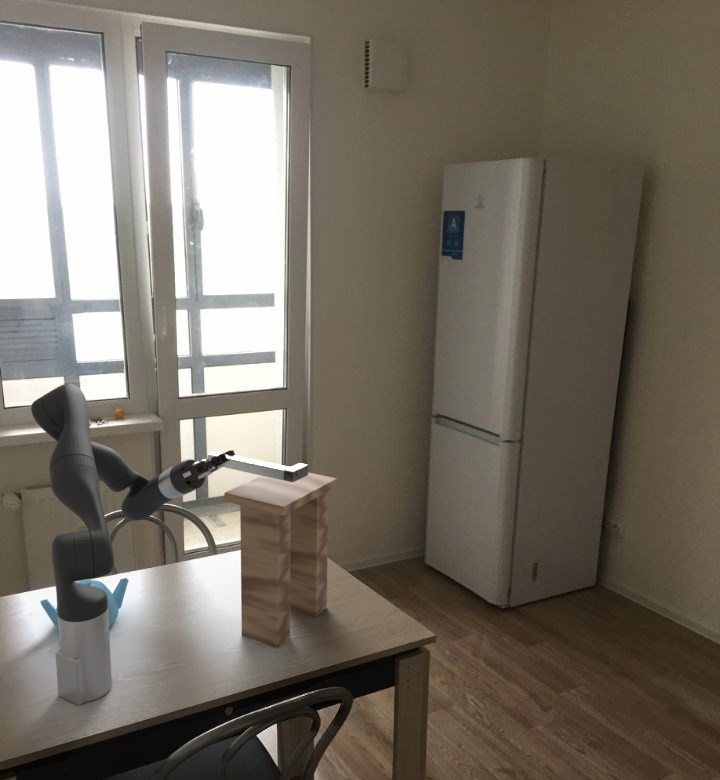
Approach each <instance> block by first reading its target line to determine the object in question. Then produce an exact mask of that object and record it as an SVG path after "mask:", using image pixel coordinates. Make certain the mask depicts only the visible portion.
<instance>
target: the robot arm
mask: <svg viewBox="0 0 720 780" xmlns="http://www.w3.org/2000/svg"><path fill="white" fill-rule="evenodd" d="M30 407H31V408H30V411H31V414H32V418H33V419H34V420H35V422H36V424H37V425H39V427H40V428H41V429H42V431H44V432H45V433H46V434H48V435H49V436H50V437H51V438H52V439H54V440H55V441H56V442H57V443H56V446H55V447H54V449H53V451H52V454H51V457H50V460H49V467H48V468H49V470H48V471H49V479H50V484H51V490H52V493H53V494H54V496H55V497H56V498H57V500H59V501H60V502H61V503H62V505H64V506H65V507H67V508H68V509H69V511H71V512H72V513H74V514H75V515H76V516H78V518H80V520H81V521H82V522H83V523H84V525H85V527H86V530H81V531H74V532H68V533H62V534H61V533H60V534H58V535H57V536H55V537H54V538H53V541H52V544H51V558H52V560H51V561H52V567H53V575H54V583H55V593H56V609H57V614H58V627H59V628H58V627H57V628H58V640H59V650H57V651H56V652H55V662H56V663H55V664H56V678H57V694H58V696H59V697H60V698H63V699H65V700H67V701H69V702H71V703H73V704H76V705H78V706H81V705H82V704H84V703H87V702H91V701H92V702H93V701H95V700H97V699H99V698H101V697H103V696H105V695H106V694H107V693H108V692H109V691H110V690H111V689H112V686H113V684H112V683H113V679H112V678H113V677H112V664H111V663H112V660H111V644H110V643H111V640H110V627H109V618H108V599H107V595H106V593H105V592H104V591H103V590H102V589H100V588H97V587H93V586H87V585H82V584H79V583H76V582H74V581H80V580H85V579H90V580H92V579H96V578H100V577H104V576H107V575H109V574H110V573H111V572H112V570H113V568H114V564H115V556H114V547H113V543H112V539H111V536H110V531H109V527H108V523H107V520H106V516H105V512H104V508H103V505H102V499H101V491H100V484H99V479H100V480H101V481H102V482H103V483H104V484H105V485H106V487H108V489H110V490H111V491H112V492H115V493H119V492H122V491H124V490H126V489H127V488H129V491H128V492H127V493H126V496H125V497H124V499H123V501H122V502H121V507H120V508H121V509H120V510H121V512H122V514H123V516H124V517H125V518H127V519H128V520H131V521H142V520H145V519H147V518H149V517H150V516H152V515H153V514H154V513H155V512H157V511H158V510H159V509H160V508H162V506H163V505H164V504H166V503H168V502H171V501H173V500H175V499H177V498H178V499H179V498H181V497H183V496H185V495H187V494H189V493H192V492H194V491H196V490H198V489H200V488H202V486H204V484H205V482H206V477H208V476H210V475H212V474H213V473H214V472H217V471H219V470H220V469H222V467H220V466H219V465H221V464H223V463H225V462H227V461H228V459H227V457H226V454H229V455H234V456H237V455H236V454H235V451H234V450H233V449H229V450H227V451H226V452H220V453H221V454H219V455H217V456H215V457H213V458H209V459H207V458H204V459H201V460H200V461H198V460H196V459H193V458H188V459H185V460H182V461H181V462H179V463H176V464H174V465H173V466H171V467H169V468H168V469H166V470H164V471H163V472H162V473H160V474H158V475H156V476H153V477H152V478H151V479H148V478H147V477H145V476H143V475H142V474H141V473H139V472H137V471H136V470H134V469H133V468H132V467H131V466H130V465H129V463H128V462H127V461H126V460H125V459H124V458H123V457H122V456H121V454H119V453H118V452H117V451H116V450H114V449H113V448H111V447H108V446H107V445H103V444H102V443H98V442H95V441H92V440H91V428H90V427H91V426H90V425H91V424H90V411H89V405H88V401H87V399H86V397H85V394H84V393H83V390H81V389H80V388H79V386H77V385H75V384H73V383H64V384H61V385H59V386H57V387H55V388H54V389H52V390H50V391H48V392H47V393H45V394H44V395H42V396H41V397H38V398H37V399H35V400H34V401H33V402H32V404H31V406H30Z"/></svg>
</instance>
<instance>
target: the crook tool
mask: <svg viewBox="0 0 720 780" xmlns="http://www.w3.org/2000/svg"><path fill="white" fill-rule="evenodd" d="M221 453H222V452H219V451H211V452H209V453H207V455H206V456H207V458H206V459H209V458H213V457H215V456H217V455H219V454H221ZM226 457H227V459H228V461H227V462H225V463H223V464H221V465H219V466H220V467H221V468H225V469H228V470H229V469H230V470H235V471H239V472H244V473H247V474H248V473H249V474H253V475H258V476H260V477H261V476H266V477H270V478H275V479H279V480H284V481H289V482H295V481H297V480H299V479H301V478H303V477H305V476H307V475H308V473H309V464H305V463H301V462H299V463H296V464H294V465H291V466H286V465H282V464H277V463H273V462H269V461H268V462H266V461H263V460H259V459H258V460H257V459H252V458H247V457H243V456H239V455H236V456H234V455H229V454H226Z"/></svg>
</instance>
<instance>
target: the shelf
mask: <svg viewBox="0 0 720 780" xmlns="http://www.w3.org/2000/svg"><path fill="white" fill-rule="evenodd" d="M337 486H338V478H337V477H332V476H327V475H323V474H318V473H314V472H308V475H307V476H305V477H303V478H301V479H299V480H297V481H295V482H289V481H284V480H279V479H275V478H270V477H266V476H261V475H260V476H259V477H256V478H255V479H252V480H249V481H246V482H245V483H243V484H240V485H239V486H236V487H234V488H232V489H230V490H227V491H226V492H224V502H226V503H231V504H233V505H234V504H235V505H239V509H240V510H239V511H240V513H239V515H240V524H239V525H240V581H241V582H240V592H241V593H240V595H241V596H240V599H241V600H240V601H241V605H240V606H241V607H240V609H241V615H240V616H241V636H242V637H245V638H247V639H250V640H252V641H255V640H256V641H255V642H258V641H259V642H258V643H261V642H262V644H264V643H265V645H267V644H268V645H267V646H269V645H271V647H272V646H274V647H273V648H275V647H276V648H275V649H278V648H279V647H281V646H282V645H283V644H284V643H286V642H287V641H288V640H290V638H291V610H294V611H297V612H299V613H303V614H307V615H309V614H310V616H312V615H313V617H315V616H316V617H318V616H319V615H320V614H321V613H322V612H323V611H325V610H326V609H327V607H328V606H327V605H328V552H329V550H328V549H329V547H328V545H329V544H328V543H329V540H328V539H329V496H330V495H329V491H331V490H333V489H335V488H337ZM325 608H326V609H325ZM324 609H325V610H324ZM319 613H320V614H319ZM318 614H319V615H318ZM286 640H287V641H286ZM285 641H286V642H285ZM281 644H282V645H281ZM280 645H281V646H280Z"/></svg>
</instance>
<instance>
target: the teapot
mask: <svg viewBox="0 0 720 780" xmlns="http://www.w3.org/2000/svg"><path fill="white" fill-rule="evenodd" d="M74 582H76V583H79V584H82V585H87V586H93V587H97V588H100V589H102V590H103V591H104V592H105V593H106V595H107V599H108V618H109V626H110V627H111V625H113V623H114V622H115V621H116V619H117V618H118V616H119V612H120V611H119V609H121V608H122V606H123V601H124V598H125V594H126V590H127V587H128V583H129V579H128V578H127V577H123V578H121V579H120V580H119V582H118V583H117V585H116V586H115V589H114V590H113V592H112V591H111V590H110V589H109V587H108V586H106V584H104V583H103V582H101V581H100V580H95V579H85V580H80V581H74ZM39 603H40V605H41V606H42V608H43V609H44V612H45V613H46V614H47V616H48V617H49V619H50V621H51V622H52V623H53V625H54V627H57V628H58V629H59V627H58V614H57V608H55V607H54V605H53V604H52V603H51V602H49V600H48V598H45V599H42V600H40V601H39Z"/></svg>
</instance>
